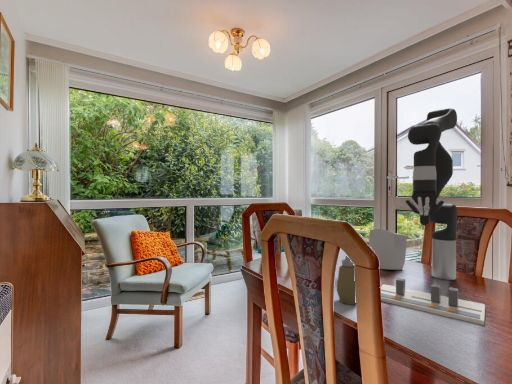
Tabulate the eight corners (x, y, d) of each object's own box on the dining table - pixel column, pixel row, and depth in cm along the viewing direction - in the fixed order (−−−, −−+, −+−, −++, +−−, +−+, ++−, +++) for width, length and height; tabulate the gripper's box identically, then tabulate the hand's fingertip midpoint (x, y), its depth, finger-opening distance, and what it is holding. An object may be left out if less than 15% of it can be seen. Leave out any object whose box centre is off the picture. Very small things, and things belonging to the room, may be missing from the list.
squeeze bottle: (333, 297, 104) (333, 248, 104) (354, 297, 105) (355, 247, 104) (341, 306, 96) (342, 252, 96) (365, 305, 96) (365, 252, 96)
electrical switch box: (410, 273, 143) (414, 233, 145) (390, 272, 137) (394, 230, 138) (385, 266, 157) (389, 229, 158) (365, 265, 150) (370, 227, 151)
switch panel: (383, 287, 116) (383, 283, 116) (484, 307, 95) (485, 303, 95) (370, 298, 103) (370, 294, 103) (484, 325, 83) (484, 319, 83)
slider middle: (432, 298, 99) (432, 284, 99) (440, 300, 98) (440, 285, 98) (430, 300, 97) (431, 286, 97) (439, 302, 95) (439, 287, 95)
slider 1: (398, 291, 106) (398, 277, 106) (405, 292, 105) (405, 279, 105) (395, 293, 104) (396, 279, 104) (403, 295, 102) (403, 281, 102)
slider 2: (449, 301, 96) (449, 287, 96) (458, 303, 95) (458, 288, 95) (448, 304, 94) (448, 289, 94) (457, 306, 92) (457, 291, 92)
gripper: (447, 178, 105) (447, 225, 105) (407, 179, 114) (407, 222, 114) (444, 178, 99) (444, 228, 100) (402, 179, 108) (402, 225, 108)
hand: (424, 225), depth 107 cm, fingers closed
